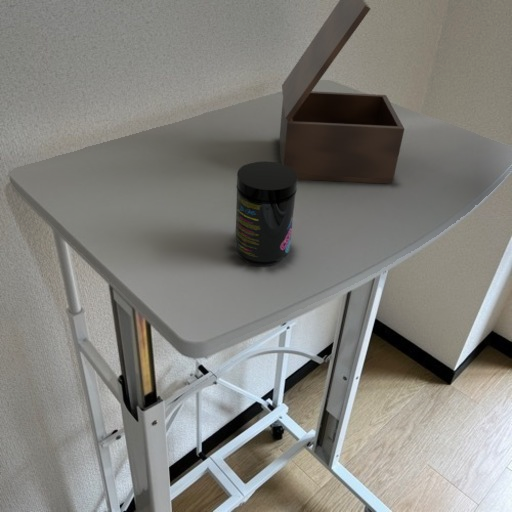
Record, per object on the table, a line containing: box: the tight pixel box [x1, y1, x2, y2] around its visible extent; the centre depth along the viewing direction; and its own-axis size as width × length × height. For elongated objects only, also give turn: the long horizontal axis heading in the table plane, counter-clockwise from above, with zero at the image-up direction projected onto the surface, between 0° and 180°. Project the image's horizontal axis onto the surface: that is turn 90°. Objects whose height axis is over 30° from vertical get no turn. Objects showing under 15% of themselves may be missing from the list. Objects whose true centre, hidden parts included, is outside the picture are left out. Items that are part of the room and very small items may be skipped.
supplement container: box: [234, 160, 299, 267], centre depth 64 cm, size 7×7×10 cm
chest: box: [278, 90, 405, 185], centre depth 85 cm, size 17×14×9 cm
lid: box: [281, 0, 371, 121], centre depth 78 cm, size 18×14×1 cm
